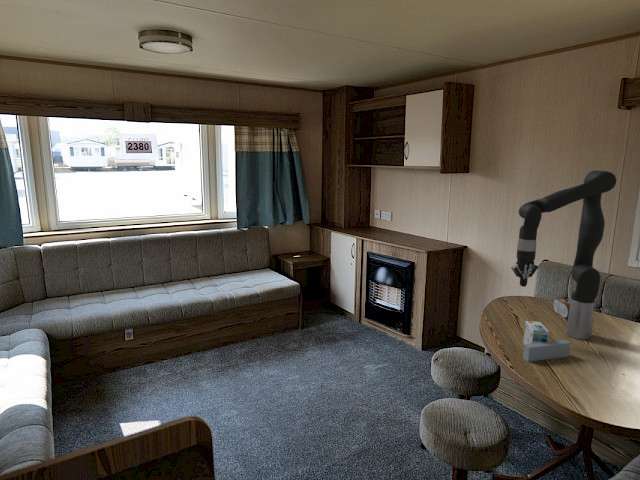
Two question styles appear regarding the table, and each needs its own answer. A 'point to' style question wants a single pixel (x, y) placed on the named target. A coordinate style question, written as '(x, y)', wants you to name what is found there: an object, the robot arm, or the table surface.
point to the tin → (561, 307)
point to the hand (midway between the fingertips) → (523, 286)
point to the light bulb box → (535, 333)
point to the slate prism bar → (546, 350)
